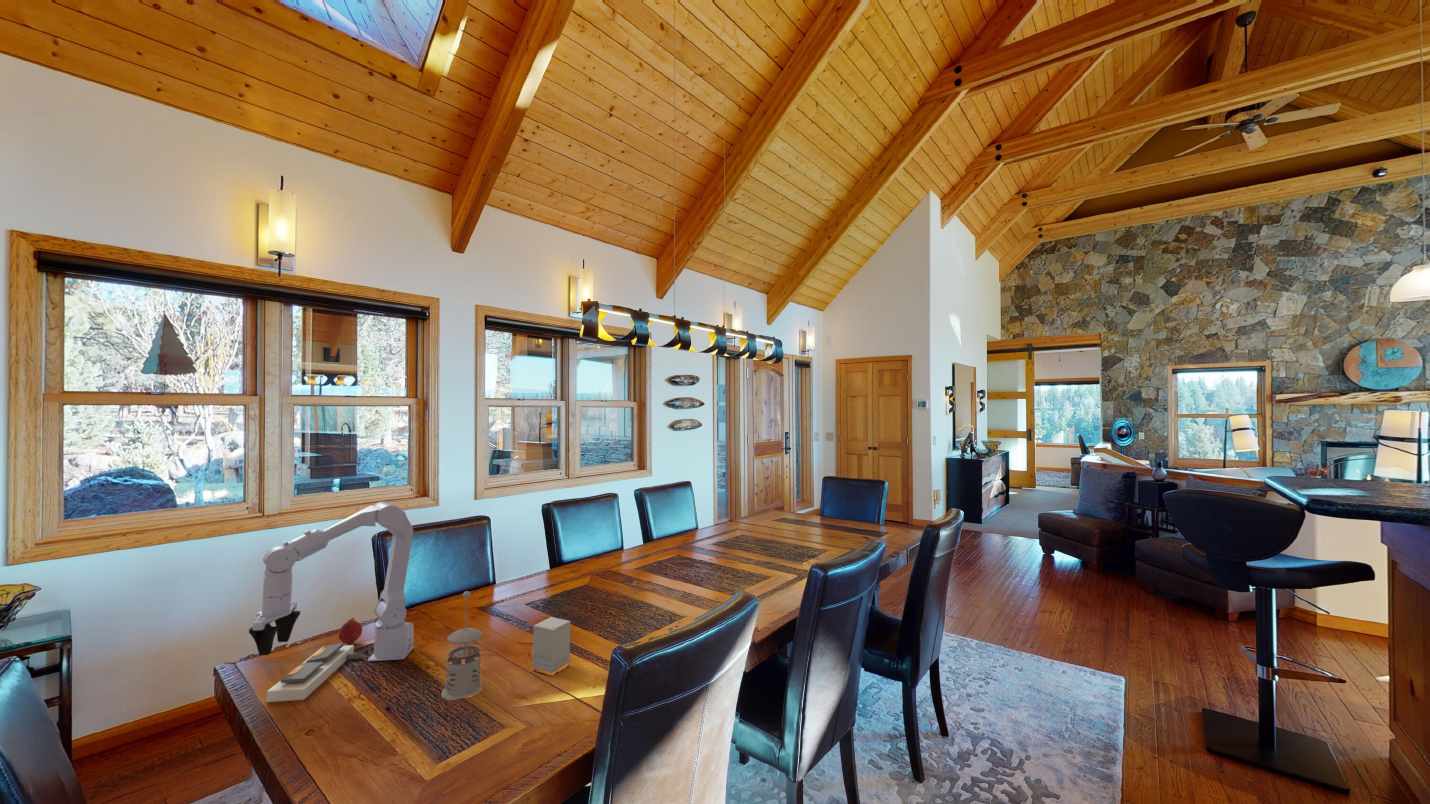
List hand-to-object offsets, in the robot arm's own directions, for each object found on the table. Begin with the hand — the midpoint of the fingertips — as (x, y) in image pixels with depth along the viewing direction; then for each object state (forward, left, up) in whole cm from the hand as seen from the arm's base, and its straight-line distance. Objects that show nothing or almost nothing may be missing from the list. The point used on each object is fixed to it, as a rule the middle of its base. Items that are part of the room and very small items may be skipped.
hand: (274, 647), depth 134 cm
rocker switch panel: (-9, -4, -9) cm, 14 cm away
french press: (-48, +9, -10) cm, 49 cm away
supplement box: (-69, +1, -10) cm, 69 cm away
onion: (-8, -23, -10) cm, 26 cm away
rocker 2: (-8, -9, -6) cm, 13 cm away
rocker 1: (-8, +2, -6) cm, 10 cm away
